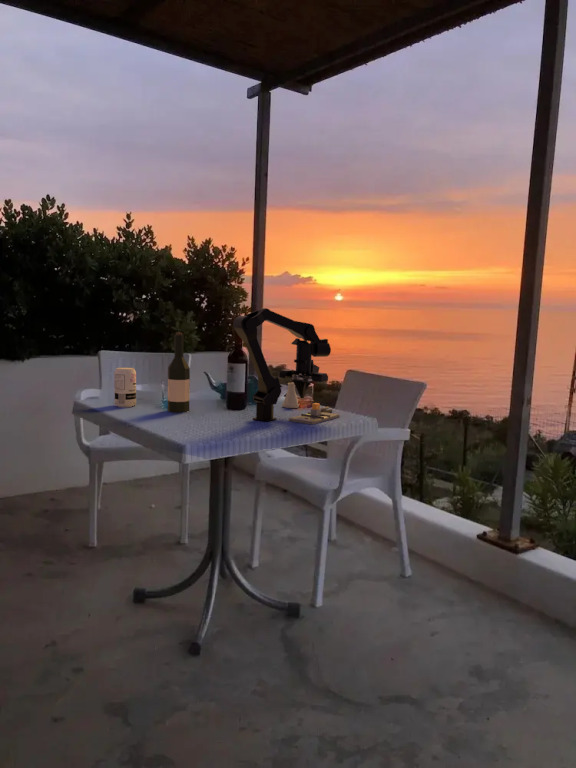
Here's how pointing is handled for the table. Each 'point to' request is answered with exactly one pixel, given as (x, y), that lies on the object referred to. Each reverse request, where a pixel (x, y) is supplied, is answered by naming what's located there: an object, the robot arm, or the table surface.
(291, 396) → the flask
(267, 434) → the table surface
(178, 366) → the wine bottle
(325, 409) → the cables
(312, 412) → the toggle
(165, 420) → the table surface
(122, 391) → the supplement can
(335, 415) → the panel
